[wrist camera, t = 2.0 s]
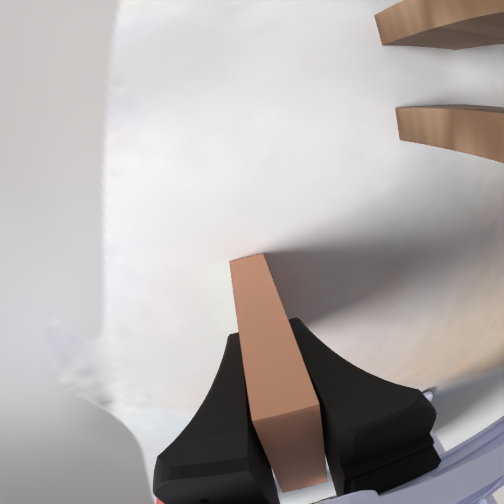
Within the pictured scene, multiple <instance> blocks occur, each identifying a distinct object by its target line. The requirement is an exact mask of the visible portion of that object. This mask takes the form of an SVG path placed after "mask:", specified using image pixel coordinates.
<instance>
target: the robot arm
mask: <svg viewBox="0 0 504 504" xmlns="http://www.w3.org/2000/svg"><path fill="white" fill-rule="evenodd" d="M288 321H289V324H290V326H291V329H292V332H293V334H294V337H295V340H296V342H297V345H298V348H299V350H300V353H301V356H302V358H303V361H304V364H305V367H306V369H307V372H308V375H309V377H310V380H311V383H312V385H313V388H314V391H315V394H316V396H317V399H318V402H319V406H320V414H321V423H322V432H323V441H324V450H325V456H326V459H327V463H328V466H329V470H330V473H331V476H332V480H333V483H334V487H335V491H336V494H337V498H334V499H330V500H327V501H323V502H320V503H316V504H497V502H496V501H495V499H494V497H493V496H492V494H493V493H494V492H495V491H497V490H498V489H499V488H501V487H502V486H503V485H504V416H503V417H501V418H500V419H498V420H497V421H495V422H494V423H492V424H491V425H490V426H488V427H487V428H485V429H483V430H482V431H480V432H479V433H477V434H476V435H474V436H472V437H471V438H469V439H467V440H466V441H464V442H462V443H461V444H459V445H457V446H456V447H454V448H452V449H450V450H448V451H447V452H446V451H445V450H444V448H443V446H442V444H441V443H440V441H439V439H438V438H437V436H436V435H435V433H434V431H433V430H432V427H433V424H434V422H435V419H436V414H437V413H436V411H435V409H434V407H433V406H432V404H431V400H432V397H433V394H432V393H431V391H428V392H426V393H424V394H422V392H421V391H420V390H418V389H414V388H410V387H406V386H402V385H398V384H395V383H392V382H389V381H386V380H383V379H381V378H379V377H377V376H374V375H372V374H370V373H368V372H366V371H364V370H362V369H360V368H358V367H356V366H355V365H353V364H351V363H350V362H348V361H346V360H345V359H343V358H342V357H341V356H339V355H338V354H336V353H335V352H334V351H332V350H331V349H330V348H329V347H327V346H326V345H325V344H324V343H323V342H322V341H320V340H319V339H318V338H317V337H316V336H315V335H314V334H313V333H312V332H311V331H310V330H309V329H308V328H307V327H306V326H305V325H304V324H303V323H302V321H301V320H300V319H299V318H293V319H290V320H288ZM153 494H154V495H155V496H156V497H157V498H158V499H159V500H160V501H162V502H163V503H164V504H280V502H279V498H278V494H277V490H276V485H275V481H274V477H273V473H272V468H271V465H270V463H269V460H268V458H267V456H266V453H265V451H264V449H263V446H262V444H261V441H260V439H259V437H258V434H257V432H256V429H255V427H254V425H253V422H252V418H251V411H250V405H249V398H248V392H247V385H246V378H245V372H244V365H243V358H242V351H241V344H240V337H239V332H238V333H234V334H230V335H229V336H228V339H227V344H226V348H225V352H224V355H223V358H222V361H221V364H220V367H219V370H218V372H217V375H216V377H215V379H214V382H213V384H212V386H211V388H210V390H209V392H208V394H207V396H206V398H205V400H204V401H203V403H202V405H201V406H200V408H199V410H198V411H197V413H196V414H195V416H194V417H193V418H192V420H191V421H190V423H189V424H188V425H187V426H186V427H185V429H184V430H183V431H182V432H181V434H180V435H179V436H178V437H177V438H176V439H175V440H174V441H173V442H172V443H171V444H170V445H169V446H168V447H167V448H166V449H165V450H164V451H163V452H162V453H161V454H160V455H158V457H157V461H156V465H155V469H154V478H153Z"/></svg>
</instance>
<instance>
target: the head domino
mask: <svg viewBox="0 0 504 504" xmlns="http://www.w3.org/2000/svg"><path fill="white" fill-rule="evenodd" d="M229 263H230V271H231V278H232V286H233V293H234V301H235V308H236V316H237V323H238V330H239V337H240V344H241V351H242V358H243V365H244V372H245V378H246V385H247V392H248V398H249V405H250V411H251V418H252V422H253V425H254V427H255V429H256V432H257V434H258V437H259V439H260V441H261V444H262V446H263V449H264V451H265V453H266V456H267V458H268V460H269V463H270V465H271V467H272V469H273V472H274V474H275V476H276V479H277V481H278V483H279V485H280V487H281V490H282V492H288V491H292V490H296V489H300V488H304V487H308V486H312V485H316V484H319V483H323V482H326V481H327V470H326V460H325V450H324V441H323V432H322V423H321V414H320V406H319V402H318V399H317V396H316V394H315V391H314V388H313V385H312V383H311V380H310V377H309V375H308V372H307V369H306V367H305V364H304V361H303V358H302V356H301V353H300V350H299V348H298V345H297V342H296V340H295V337H294V334H293V332H292V329H291V326H290V324H289V321H288V318H287V316H286V313H285V310H284V308H283V305H282V302H281V300H280V297H279V294H278V292H277V289H276V286H275V284H274V281H273V279H272V276H271V273H270V271H269V268H268V265H267V263H266V260H265V257H264V255H263V253H261V254H257V255H253V256H249V257H245V258H241V259H237V260H233V261H229Z"/></svg>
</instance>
